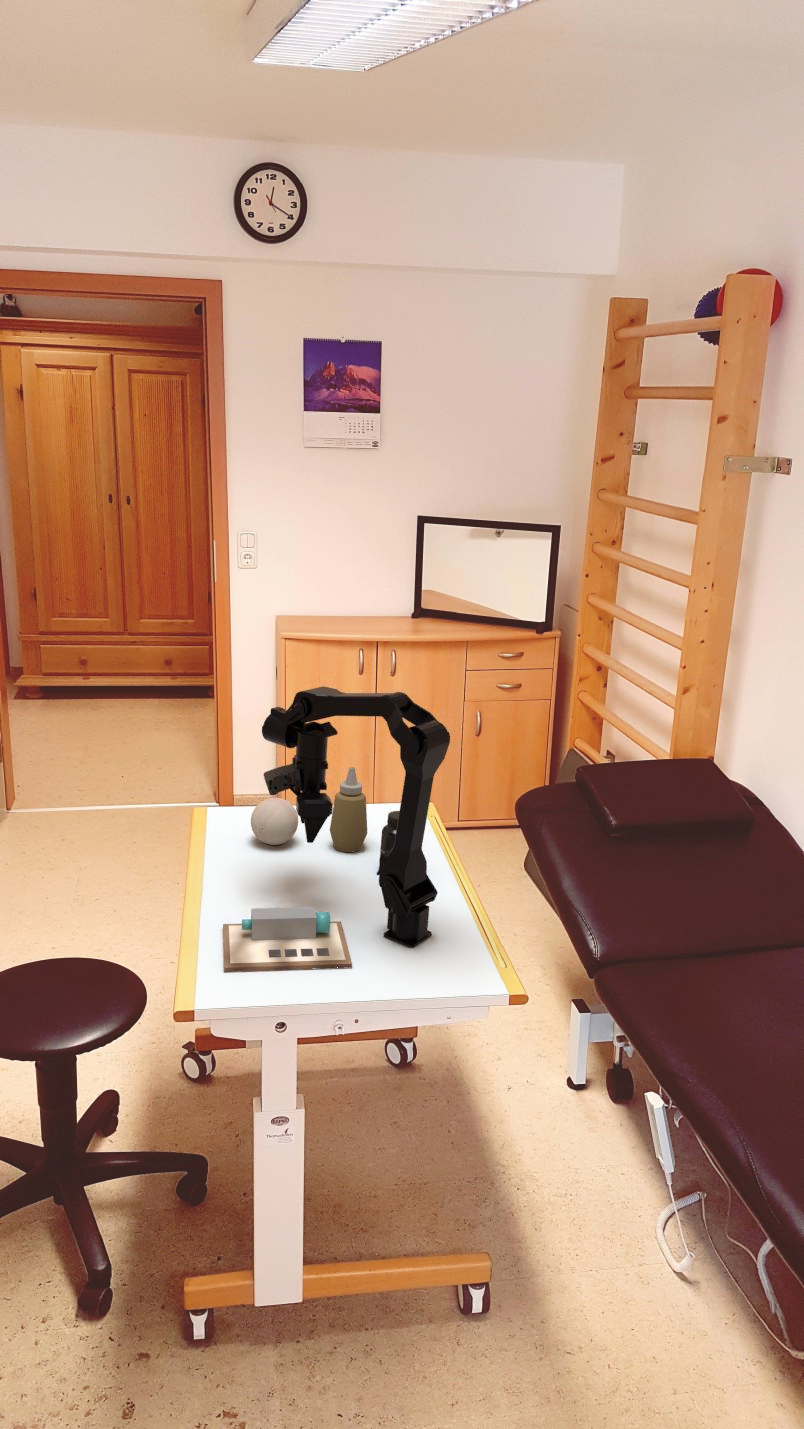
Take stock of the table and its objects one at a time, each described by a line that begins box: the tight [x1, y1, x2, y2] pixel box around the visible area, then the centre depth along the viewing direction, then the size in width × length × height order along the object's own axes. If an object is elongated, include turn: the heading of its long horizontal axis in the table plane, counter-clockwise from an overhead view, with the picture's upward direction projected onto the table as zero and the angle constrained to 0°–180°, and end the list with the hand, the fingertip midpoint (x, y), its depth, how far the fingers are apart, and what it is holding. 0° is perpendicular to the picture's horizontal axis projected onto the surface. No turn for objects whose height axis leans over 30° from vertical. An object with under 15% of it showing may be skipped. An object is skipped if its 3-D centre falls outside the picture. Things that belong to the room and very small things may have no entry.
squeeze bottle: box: [329, 766, 368, 853], centre depth 215 cm, size 8×8×18 cm
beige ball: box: [250, 797, 299, 846], centre depth 216 cm, size 10×10×10 cm
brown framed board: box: [222, 920, 353, 973], centre depth 174 cm, size 21×15×1 cm
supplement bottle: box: [379, 810, 400, 856], centre depth 207 cm, size 7×7×12 cm
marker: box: [241, 906, 331, 940], centre depth 177 cm, size 15×4×4 cm, turn 101°
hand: (306, 832), depth 192 cm, fingers open, 9 cm apart
